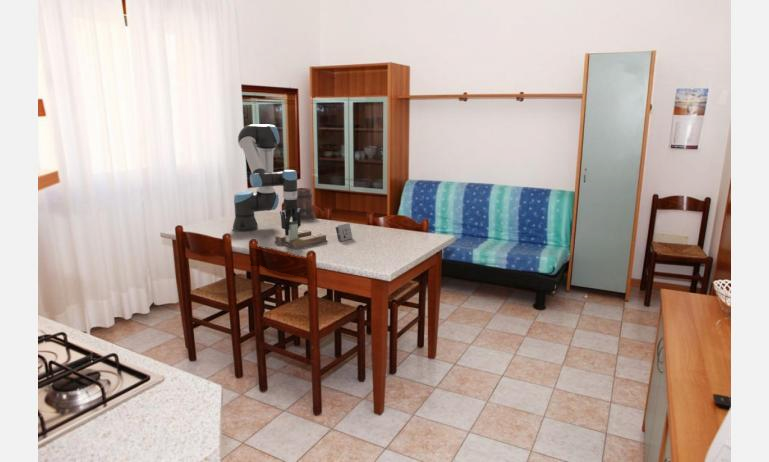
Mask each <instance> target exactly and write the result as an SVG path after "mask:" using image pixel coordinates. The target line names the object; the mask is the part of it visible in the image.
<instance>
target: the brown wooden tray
mask: <svg viewBox="0 0 769 462" xmlns="http://www.w3.org/2000/svg"><path fill="white" fill-rule="evenodd" d="M274 237H275V238H274V239H275V240H274V243H275V244H278V245H281V246H285V247H288V248H291V249H293V250H299V249H300V250H301V249H304V248H309V247H312V246H313V247H314V246H317V245H321V244H325V243H328V240H327V235H326V234H325V233H316V234H312V230H308V229H304V230H298V239H293V240H290V243H288V242H286V238H285V233H284V234H280V235H275V236H274Z"/></svg>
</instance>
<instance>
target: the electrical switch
mask: <svg viewBox="0 0 769 462" xmlns="http://www.w3.org/2000/svg"><path fill="white" fill-rule="evenodd" d="M335 231H336V237H337V241H341V242H344V241H348V240H350V239H353V233H352V228H351V224H350V223H349V222H346V223H343V224H339V225H337V226H335Z"/></svg>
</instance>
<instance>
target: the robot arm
mask: <svg viewBox="0 0 769 462" xmlns="http://www.w3.org/2000/svg"><path fill="white" fill-rule="evenodd" d="M237 142H238V145H239V148H240V149H242V151H243V154H244V157H245V159H246V162H247V164H248V167H249V170H250V172H251V174H250V175H249V181H250V185H251V187H252V188H256V192H254V191H253V190H243V191H240V192H237V193H235V194H234V197H233V203H234V220H233V225H232V230H233V231H234V232H235V231H236V232H252V231H256V230H258V229H259V225H258V222H257V220H256V217H255V216H256V215H255V212H267V211H268V212H270V211H275V210H276V209H277V208H278V206H279V199H280V198H279V193H278V192H277V191H276V188H274V187H280V186H282V192H283V193H282V195H283V196H282V197H283V206H284V207H283V210H282V211H281V210H280V211H279V215H280V222H281V223H280V224H281V229H283V230H284V234H285V235H286V240H287V241H290V230H289V224H290V223H289V222H290V220H294V221H298V229H299V228H300V227H301V226H302V219H301V211H302V209H299V208H298V207H297V205H298V200H297V199H296V198H297V188H298V174H297V171H296V170H295V169H284V170H283V171H282V170H281V171H277V172H274V150H275V149H277V145H279V143H280V134H279V130H278V128H277V126H276V125H274V124H248V125H246V126H243V128H241V130H240V132H239V134H238V136H237ZM296 211H297V213H296ZM291 216H292V217H291ZM291 218H292V219H291Z"/></svg>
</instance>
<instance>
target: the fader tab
mask: <svg viewBox="0 0 769 462" xmlns="http://www.w3.org/2000/svg"><path fill="white" fill-rule="evenodd" d="M289 223H290V224H289V230H290V240H293V239H298V231H299V228H298V221H294V220H292V219H290V222H289ZM285 238H286V235H285ZM286 242H288V243H290V241H287V240H286Z"/></svg>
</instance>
